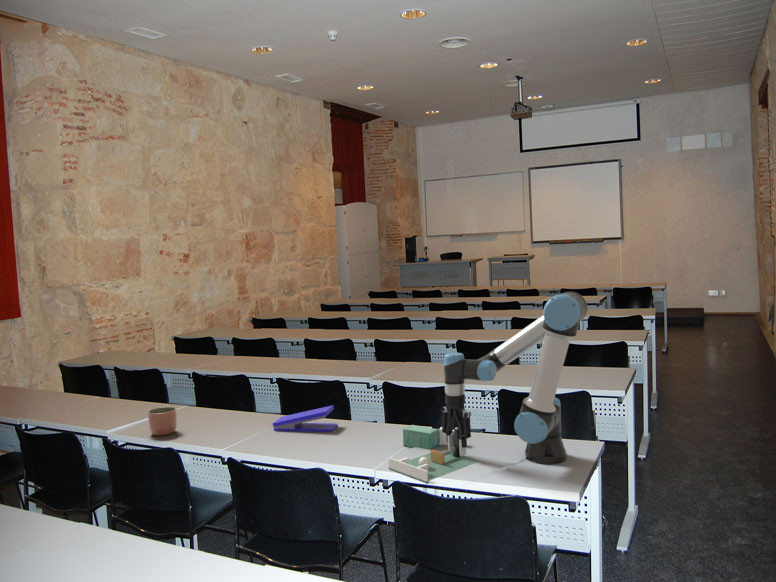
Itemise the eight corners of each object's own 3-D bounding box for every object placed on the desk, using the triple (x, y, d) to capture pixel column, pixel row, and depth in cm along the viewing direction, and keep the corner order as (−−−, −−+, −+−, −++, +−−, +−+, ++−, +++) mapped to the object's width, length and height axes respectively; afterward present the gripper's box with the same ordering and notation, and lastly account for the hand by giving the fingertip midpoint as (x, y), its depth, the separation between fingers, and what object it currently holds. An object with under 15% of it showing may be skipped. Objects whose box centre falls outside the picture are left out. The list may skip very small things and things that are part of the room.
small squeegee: (465, 455, 239) (464, 430, 238) (442, 464, 230) (441, 437, 230) (454, 452, 243) (453, 427, 242) (430, 460, 235) (429, 434, 234)
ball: (432, 467, 228) (431, 457, 228) (424, 470, 226) (423, 459, 225) (424, 465, 231) (423, 454, 231) (416, 468, 229) (416, 457, 228)
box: (431, 451, 249) (430, 433, 249) (403, 446, 257) (402, 428, 256) (440, 446, 255) (440, 428, 255) (412, 441, 263) (411, 424, 262)
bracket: (457, 447, 253) (456, 429, 252) (440, 447, 254) (439, 429, 254) (461, 438, 265) (460, 420, 265) (444, 437, 267) (444, 420, 266)
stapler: (331, 432, 281) (330, 411, 280) (272, 431, 286) (271, 410, 286) (338, 425, 292) (337, 404, 291) (281, 424, 297) (280, 404, 297)
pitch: (480, 462, 234) (480, 451, 233) (426, 483, 215) (426, 471, 215) (442, 451, 249) (441, 440, 248) (388, 469, 231) (388, 458, 230)
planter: (181, 433, 288) (179, 410, 288) (153, 439, 281) (151, 415, 281) (173, 427, 299) (172, 405, 298) (146, 433, 292) (144, 409, 291)
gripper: (479, 395, 234) (481, 456, 235) (444, 388, 247) (446, 446, 249) (466, 399, 229) (468, 461, 230) (430, 391, 243) (433, 450, 244)
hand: (457, 453), depth 240 cm, fingers open, 5 cm apart
